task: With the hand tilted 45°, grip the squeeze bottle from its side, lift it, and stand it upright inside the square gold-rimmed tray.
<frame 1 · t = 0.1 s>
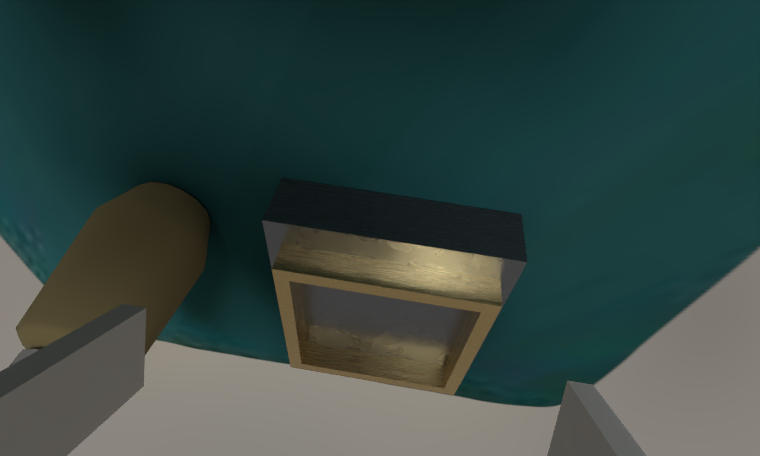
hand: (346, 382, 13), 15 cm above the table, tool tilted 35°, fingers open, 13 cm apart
squeeze bottle: (174, 207, 32), on the table
square gold-rimmed tray: (388, 275, 34), on the table
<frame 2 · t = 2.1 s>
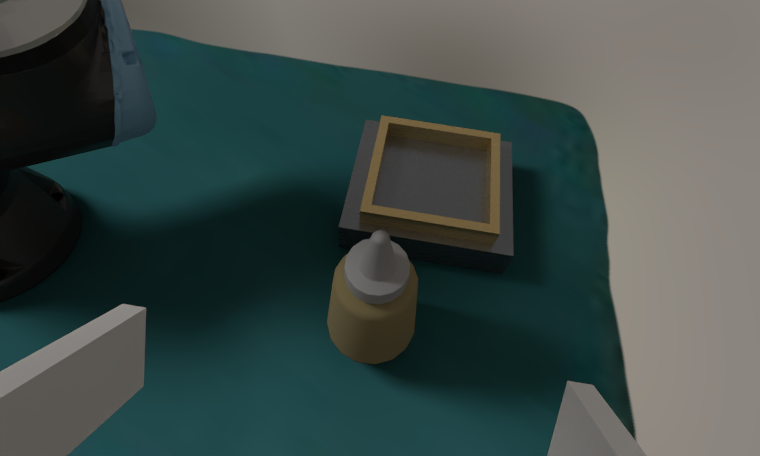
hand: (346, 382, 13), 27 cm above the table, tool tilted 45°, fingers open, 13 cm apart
squeeze bottle: (370, 333, 41), on the table
square gold-rimmed tray: (427, 202, 50), on the table
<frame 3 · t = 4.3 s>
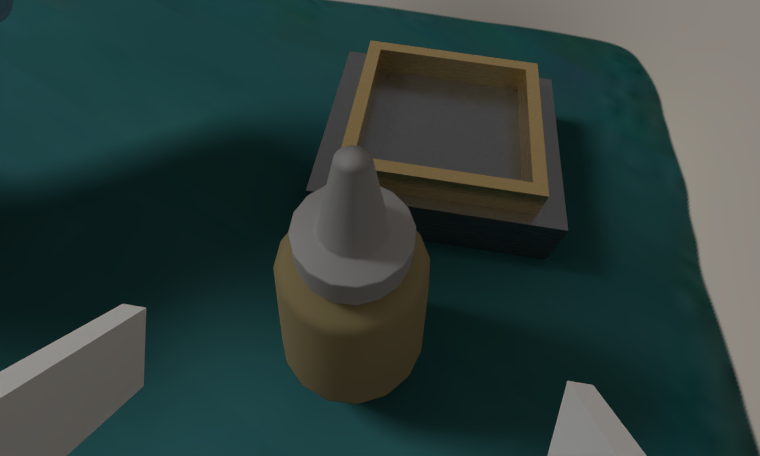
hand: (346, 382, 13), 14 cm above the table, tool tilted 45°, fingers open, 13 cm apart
squeeze bottle: (353, 349, 27), on the table
square gold-rimmed tray: (435, 162, 36), on the table
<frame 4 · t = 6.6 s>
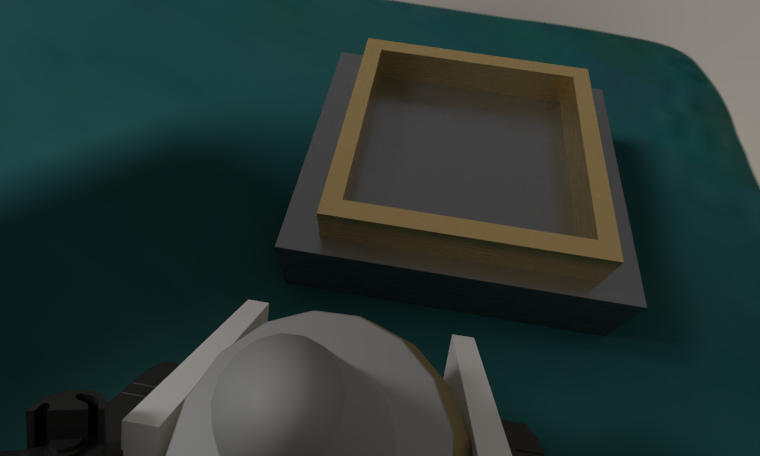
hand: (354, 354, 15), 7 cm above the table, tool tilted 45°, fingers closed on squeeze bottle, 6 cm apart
square gold-rimmed tray: (451, 196, 28), on the table
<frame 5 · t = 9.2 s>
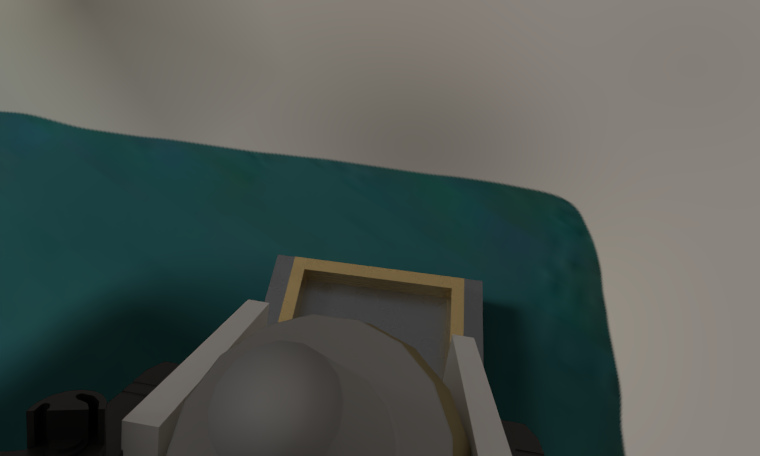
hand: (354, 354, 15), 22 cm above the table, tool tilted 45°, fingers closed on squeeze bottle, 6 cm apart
square gold-rimmed tray: (366, 372, 36), on the table
when the fingers open (13 cm above the table, at t = 11.9 s): squeeze bottle drops 1 cm, resting on square gold-rimmed tray.
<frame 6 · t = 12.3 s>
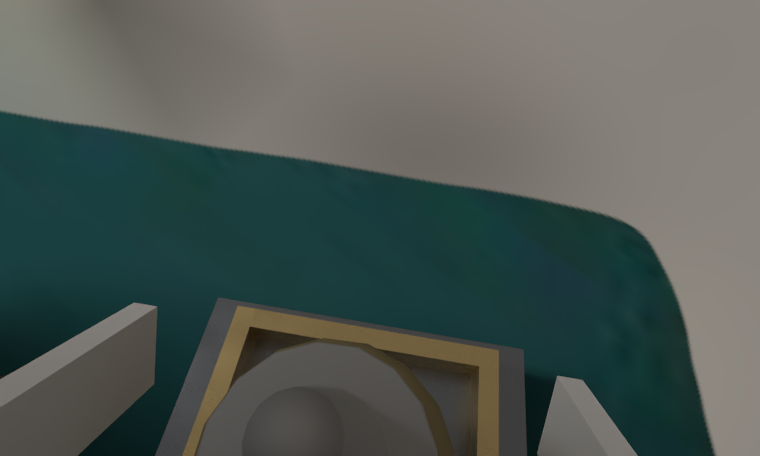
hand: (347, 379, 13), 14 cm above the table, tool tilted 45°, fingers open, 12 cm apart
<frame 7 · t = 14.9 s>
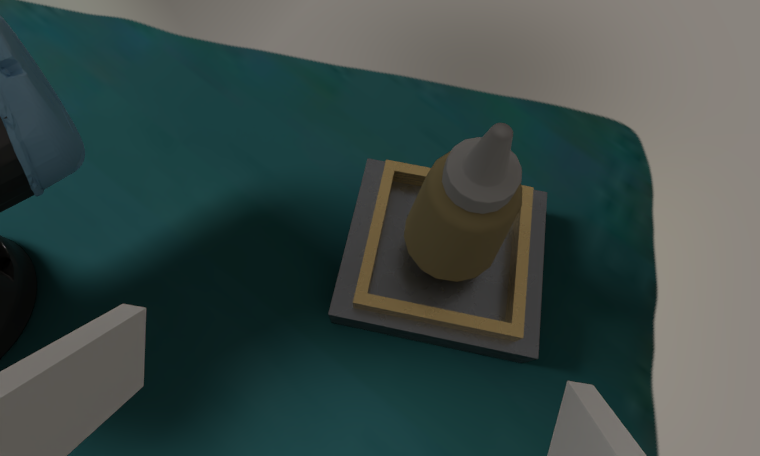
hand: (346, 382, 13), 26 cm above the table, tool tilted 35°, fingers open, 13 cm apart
squeeze bottle: (444, 250, 39), point 4 cm above the table, touching square gold-rimmed tray
square gold-rimmed tray: (438, 262, 42), on the table
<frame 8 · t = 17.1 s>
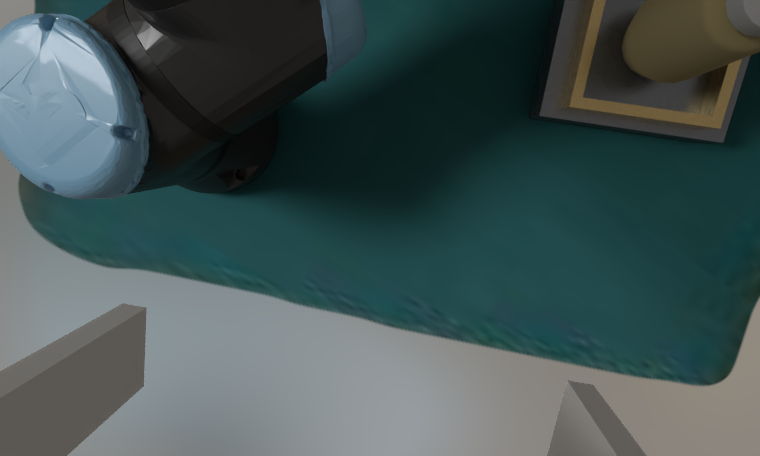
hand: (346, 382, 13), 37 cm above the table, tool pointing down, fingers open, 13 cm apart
squeeze bottle: (651, 45, 40), point 4 cm above the table, touching square gold-rimmed tray
square gold-rimmed tray: (631, 52, 44), on the table
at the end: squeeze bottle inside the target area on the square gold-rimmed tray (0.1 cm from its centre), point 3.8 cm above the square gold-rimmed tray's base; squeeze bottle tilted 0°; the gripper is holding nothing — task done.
